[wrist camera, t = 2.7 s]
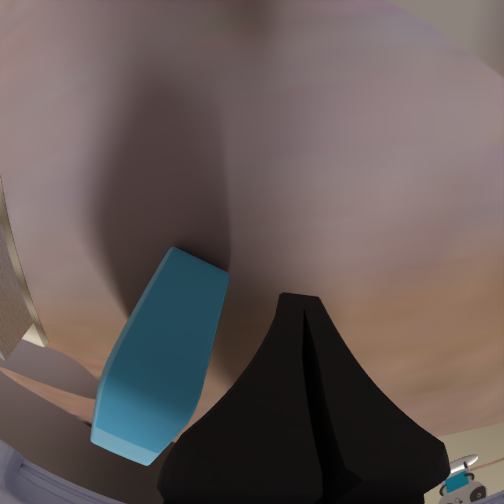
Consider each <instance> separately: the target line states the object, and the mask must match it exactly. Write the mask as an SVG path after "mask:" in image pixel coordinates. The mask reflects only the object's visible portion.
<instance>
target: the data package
mask: <svg viewBox="0 0 504 504" xmlns="http://www.w3.org/2000/svg"><path fill="white" fill-rule="evenodd" d="M229 278H230V275H229V273H228V272H226V271H224V270H222V269H220V268H217V267H215V266H213V265H211V264H209V263H207V262H205V261H203V260H201V259H199V258H197V257H194V256H192V255H190V254H188V253H186V252H184V251H182V250H180V249H178V248H176V247H171V248H170V249H169V250H168V251H167V253H166V255H165V256H164V258H163V260H162V261H161V263H160V265H159V266H158V268H157V270H156V272H155V273H154V275H153V277H152V278H151V280H150V282H149V284H148V285H147V287H146V289H145V291H144V292H143V294H142V296H141V298H140V299H139V301H138V303H137V305H136V306H135V308H134V310H133V312H132V314H131V316H130V317H129V319H128V321H127V323H126V325H125V327H124V328H123V330H122V332H121V334H120V336H119V338H118V340H117V341H116V343H115V345H114V347H113V349H112V351H111V353H110V355H109V357H108V360H107V362H106V364H105V367H104V369H103V372H102V375H101V378H100V381H99V385H98V390H97V396H96V402H95V408H94V415H93V421H92V429H91V436H90V440H91V442H92V443H94V444H96V445H99V446H101V447H103V448H105V449H107V450H109V451H112V452H114V453H116V454H119V455H121V456H124V457H126V458H128V459H131V460H133V461H136V462H138V463H141V464H143V465H149V464H150V463H151V462H152V461H153V460H154V459H155V458H156V457H157V456H158V455H159V454H160V453H161V452H162V451H163V450H164V449H165V448H166V447H167V446H168V445H169V443H170V442H171V441H172V440H173V439H174V438H175V437H176V436H177V435H178V434H179V433H180V432H181V431H182V429H183V428H184V427H185V426H186V425H187V424H188V422H189V421H190V419H191V417H192V415H193V413H194V411H195V409H196V407H197V404H198V401H199V399H200V396H201V392H202V389H203V384H204V380H205V376H206V372H207V368H208V364H209V360H210V356H211V351H212V347H213V343H214V339H215V335H216V331H217V327H218V323H219V319H220V315H221V311H222V307H223V303H224V299H225V295H226V291H227V287H228V283H229Z"/></svg>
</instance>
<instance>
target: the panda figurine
mask: <svg viewBox="0 0 504 504" xmlns="http://www.w3.org/2000/svg"><path fill="white" fill-rule="evenodd" d="M477 458H478V456H477V455H470V456H466V457H463V458H460V459H457V460H455V461H453V462H450V463H449V464H450V469H451V473H450V475H449V476H448V478H447V479H446V480H445V481H443V482H442V483H441V484H442V487H441V489H440V495H441V496H443V497H442V498H441V500H440V502H439V504H469V503H472V502H474V501H477V500H480V499H483V498H485V497H488V491H487V488H486V487H485V486H484V485H483V484H482V483H480V482H478V481H474V474H473V473H471V471H470V468H469V465H471V464H472V463H474V462H475V461H476V460H477ZM442 491H443V492H442Z"/></svg>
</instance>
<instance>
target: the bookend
mask: <svg viewBox="0 0 504 504" xmlns="http://www.w3.org/2000/svg"><path fill="white" fill-rule="evenodd" d="M21 339H24V340H27V341H29V342H32V343H34V344H37V345H39V346H42V347H45V346H46V344H47V343H48V340H47V338H46V335H45V333H44V330H43V328H42V326H41V323H40V321H39V318H38V316H37V313H36V310H35V308H34V305H33V302H32V300H31V297H30V294H29V291H28V288H27V285H26V282H25V279H24V276H23V273H22V270H21V266H20V263H19V259H18V256H17V252H16V249H15V245H14V241H13V237H12V233H11V229H10V225H9V220H8V216H7V211H6V206H5V201H4V195H3V189H2V183H1V177H0V358H1V359H3V360H5V361H6V360H7V359H8V357H9V356H10V354H11V353H12V351H13V350H14V349H15V347H16V346H17V344H18V343H19V342H20V340H21Z"/></svg>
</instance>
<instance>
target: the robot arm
mask: <svg viewBox="0 0 504 504" xmlns="http://www.w3.org/2000/svg"><path fill="white" fill-rule="evenodd" d="M450 473H451V469H450V464H449V459H448V455H447V451H446V448H445V445H444V443H443V442H441V441H440V440H439V439H437V438H436V437H434V436H433V435H431V434H430V433H429V432H427V431H426V430H424V429H423V428H422V427H420V426H419V425H418V424H416V423H415V422H414V421H413V420H412V419H411V418H409V417H408V416H407V415H406V414H405V413H403V412H402V411H401V410H400V409H399V408H398V407H397V406H396V405H395V404H394V403H393V402H392V401H391V400H390V399H389V398H388V397H387V396H386V395H385V394H384V393H383V392H382V391H381V390H380V389H379V388H378V387H377V386H376V384H375V383H374V382H373V381H372V380H371V378H370V377H369V376H368V375H367V374H366V372H365V371H364V370H363V368H362V367H361V366H360V364H359V363H358V362H357V360H356V359H355V357H354V356H353V354H352V353H351V352H350V350H349V349H348V347H347V345H346V344H345V342H344V341H343V339H342V337H341V336H340V334H339V332H338V331H337V329H336V327H335V326H334V324H333V322H332V320H331V319H330V317H329V315H328V313H327V311H326V309H325V307H324V305H323V304H322V302H321V300H320V298H319V297H316V296H308V295H300V294H292V293H285V292H283V293H281V294H280V295H279V299H278V304H277V309H276V314H275V317H274V320H273V322H272V324H271V327H270V329H269V331H268V333H267V335H266V337H265V339H264V341H263V342H262V344H261V346H260V348H259V349H258V351H257V353H256V354H255V356H254V357H253V359H252V361H251V362H250V363H249V365H248V366H247V368H246V369H245V370H244V372H243V373H242V374H241V376H240V377H239V378H238V379H237V381H236V382H235V383H234V385H233V386H232V387H231V388H230V389H229V390H228V391H227V393H226V394H225V395H224V396H223V397H222V398H221V399H220V400H219V401H218V402H217V403H216V404H215V405H214V406H213V407H212V408H211V409H210V410H209V411H208V412H207V413H206V414H205V415H204V416H203V417H202V418H200V419H199V420H198V421H197V422H196V423H195V424H193V425H192V426H191V427H190V428H189V429H187V430H186V431H185V432H184V433H183V434H182V435H181V436H180V438H179V439H178V440H177V442H176V443H175V445H174V446H173V448H172V449H171V451H170V452H169V454H168V456H167V457H166V459H165V461H164V463H163V466H162V468H161V471H160V475H159V478H158V482H157V489H158V491H159V492H160V494H161V496H162V497H163V499H164V503H163V504H424V503H425V501H424V494H425V493H426V492H428V491H429V490H431V489H433V488H434V487H436V486H438V485H439V484H441V483H442V482H443V481H445V480H446V479H447V478H448V476H449V475H450ZM0 504H125V503H122V502H119V501H116V500H113V499H111V498H108V497H105V496H102V495H100V494H97V493H95V492H92V491H90V490H87V489H84V488H82V487H80V486H78V485H75V484H73V483H71V482H69V481H66V480H64V479H62V478H60V477H58V476H56V475H54V474H52V473H49V472H48V471H46V470H44V469H42V468H40V467H38V466H36V465H34V464H32V463H31V462H29V461H27V460H25V459H24V458H23V457H22V456H21V455H20V454H19V453H18V452H17V451H16V450H15V449H13V448H12V447H11V446H9V445H8V444H6V443H5V442H3V441H2V440H0ZM469 504H504V490H503V491H500V492H498V493H495V494H493V495H490V496H488V497H485V498H483V499H480V500H477V501H474V502H472V503H469Z"/></svg>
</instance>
